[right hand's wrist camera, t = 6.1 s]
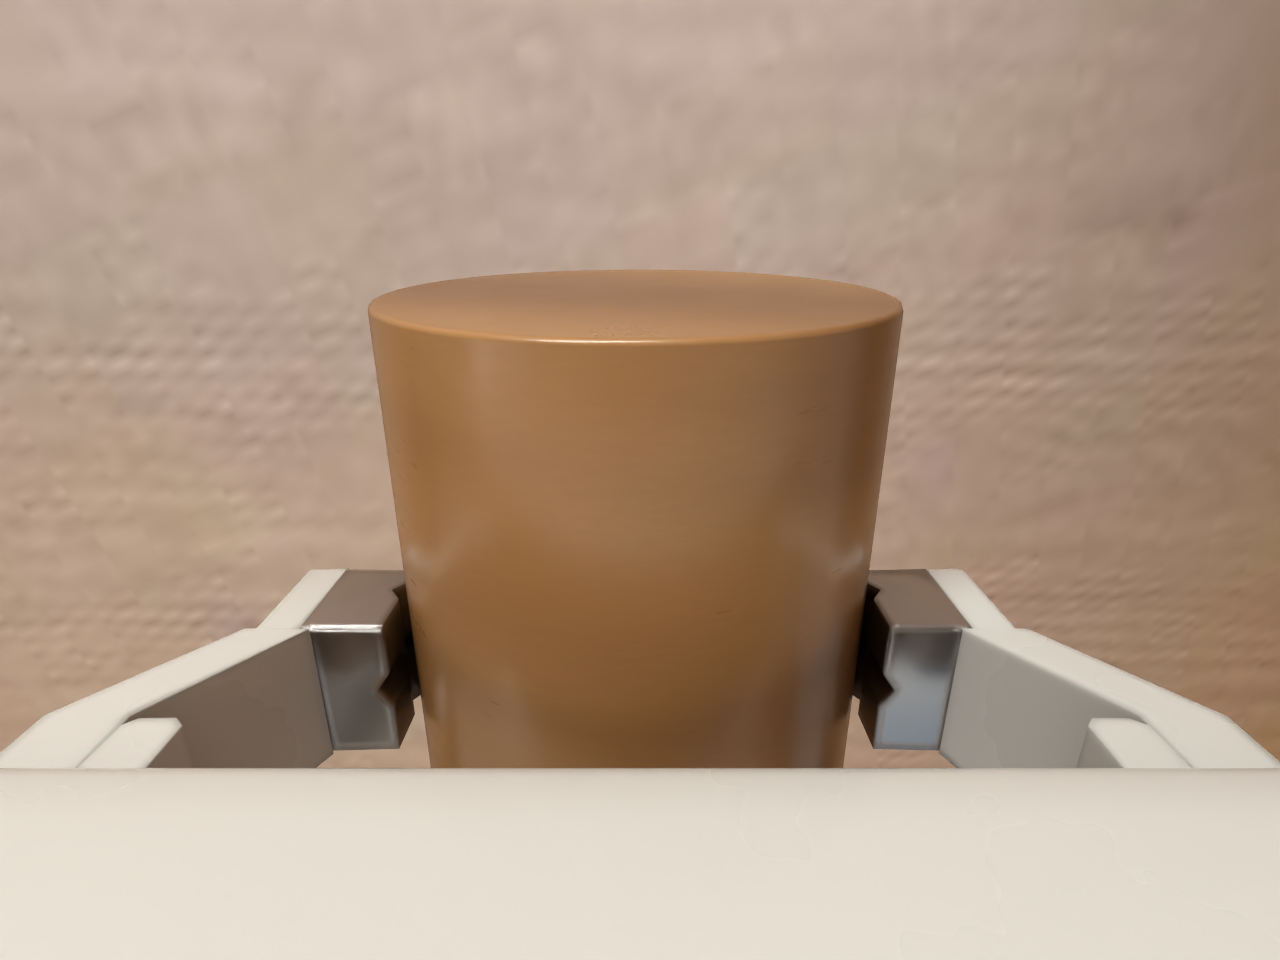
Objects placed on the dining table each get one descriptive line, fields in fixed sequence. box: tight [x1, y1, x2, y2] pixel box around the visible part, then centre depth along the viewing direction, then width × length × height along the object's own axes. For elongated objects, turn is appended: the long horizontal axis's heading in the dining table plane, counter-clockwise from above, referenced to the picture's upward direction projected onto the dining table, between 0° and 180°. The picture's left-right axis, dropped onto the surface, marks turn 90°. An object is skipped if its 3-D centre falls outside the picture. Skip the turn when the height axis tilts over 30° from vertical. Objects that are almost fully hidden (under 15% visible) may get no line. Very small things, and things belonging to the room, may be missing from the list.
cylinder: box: [368, 270, 903, 768], centre depth 13 cm, size 23×6×6 cm, turn 0°
